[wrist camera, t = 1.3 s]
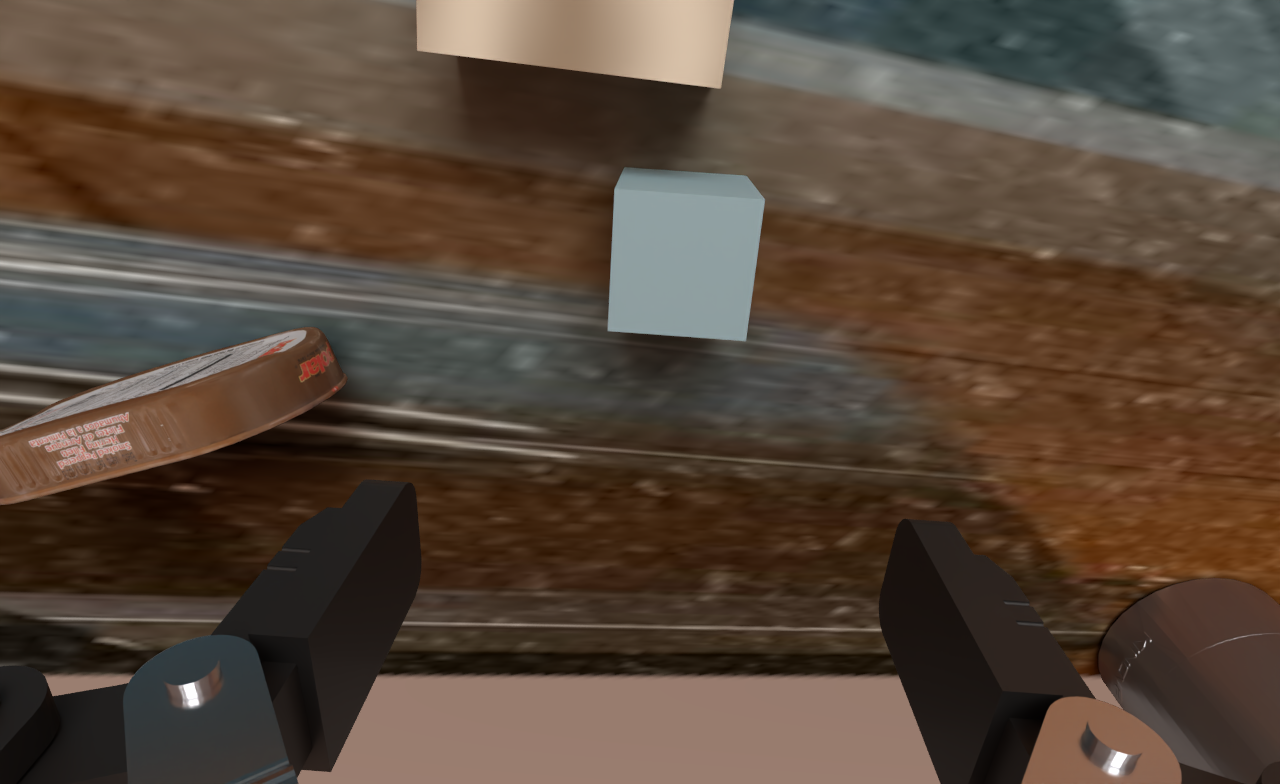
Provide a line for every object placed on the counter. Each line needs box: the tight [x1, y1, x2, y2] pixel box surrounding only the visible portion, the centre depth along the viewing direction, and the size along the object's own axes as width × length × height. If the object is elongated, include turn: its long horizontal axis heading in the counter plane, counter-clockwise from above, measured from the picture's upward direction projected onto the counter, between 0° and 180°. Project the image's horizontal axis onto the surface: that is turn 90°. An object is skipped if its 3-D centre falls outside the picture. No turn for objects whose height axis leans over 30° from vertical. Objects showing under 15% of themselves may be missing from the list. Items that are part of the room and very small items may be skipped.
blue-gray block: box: [608, 167, 765, 341], centre depth 27 cm, size 5×5×6 cm
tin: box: [0, 327, 348, 505], centre depth 30 cm, size 15×3×8 cm, turn 106°
